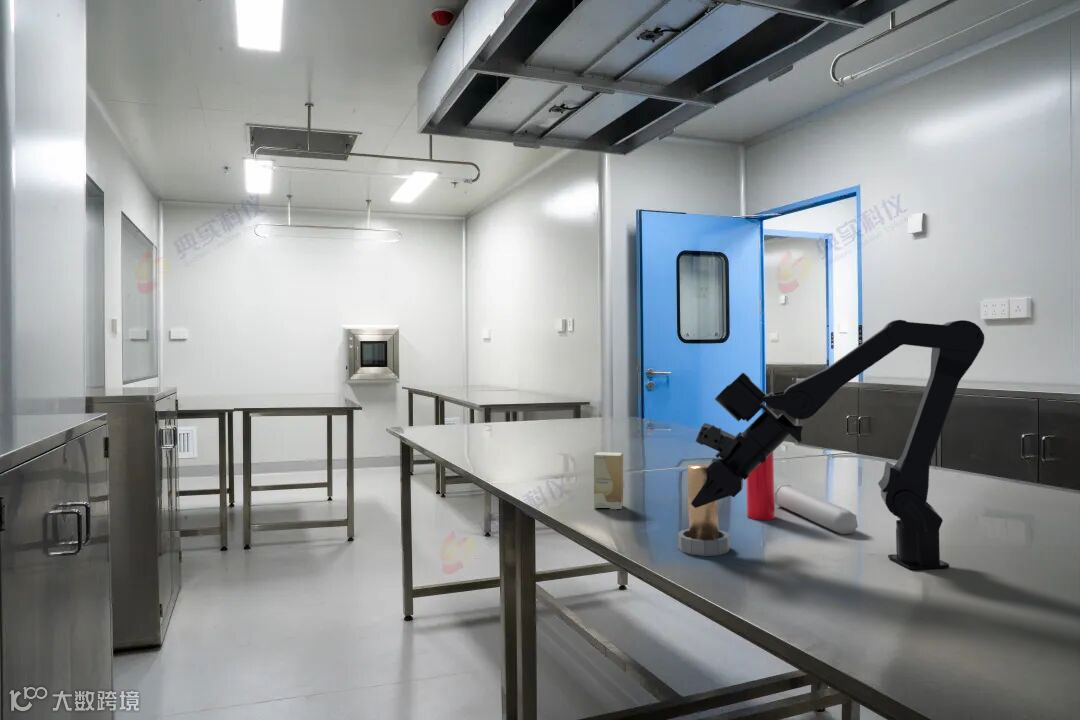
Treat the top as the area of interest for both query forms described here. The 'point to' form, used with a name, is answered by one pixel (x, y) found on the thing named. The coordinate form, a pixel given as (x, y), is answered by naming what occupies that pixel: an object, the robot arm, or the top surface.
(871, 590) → the top surface
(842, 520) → the tube
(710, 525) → the copper stub
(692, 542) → the collar
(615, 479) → the skincare box
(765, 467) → the bottle
